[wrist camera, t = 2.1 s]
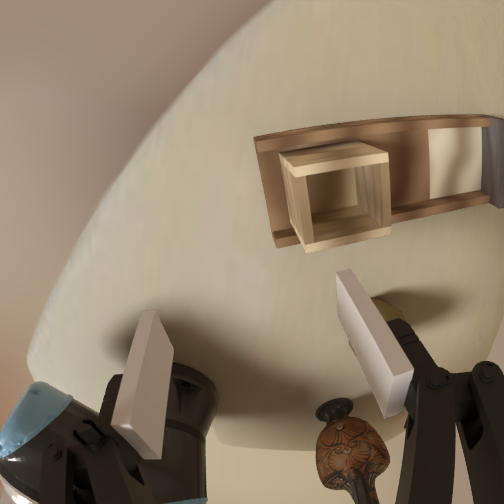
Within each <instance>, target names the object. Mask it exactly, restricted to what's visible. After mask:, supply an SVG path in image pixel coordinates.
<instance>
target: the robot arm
mask: <svg viewBox="0 0 504 504" xmlns="http://www.w3.org/2000/svg"><path fill="white" fill-rule="evenodd" d="M336 285H337V303H338V317H339V319H340V321H341V324H342V326H343V328H344V330H345V332H346V334H347V336H348V338H349V341H350V343H351V345H352V347H353V349H354V351H355V354H356V356H357V358H358V360H359V362H360V365H361V367H362V369H363V371H364V373H365V376H366V378H367V380H368V382H369V385H370V387H371V389H372V392H373V394H374V396H375V398H376V401H377V403H378V405H379V408H380V410H381V412H382V415H383V417H384V419H386V418H389V417H392V416H395V415H398V414H400V413H402V412H403V408H404V405H405V407H406V409H407V411H408V413H409V414H408V417H407V420H406V423H405V426H404V428H406V435H405V445H404V453H403V460H402V467H401V474H400V480H399V486H398V492H397V497H396V503H395V504H451V503H452V494H453V482H454V469H455V437H456V433H455V422H456V426H457V429H458V433H459V437H460V440H461V444H462V449H463V453H464V457H465V461H466V466H467V470H468V475H469V479H470V485H471V490H472V496H473V501H474V504H504V375H503V373H502V371H501V369H500V368H499V366H498V365H496V364H495V363H493V362H490V361H482V362H480V363H477V364H476V365H475V367H474V368H473V370H472V372H464V373H450V372H449V371H448V370H446V369H444V368H441V367H438V366H437V365H436V364H435V362H434V361H433V359H432V357H431V356H430V354H429V353H428V351H427V350H426V348H425V347H424V345H423V344H422V342H421V341H419V338H418V336H417V335H416V334H415V332H414V331H413V329H412V328H411V326H410V325H409V324H408V323H407V322H405V321H404V320H402V319H401V318H397V319H394V320H390V321H387V322H385V320H384V319H383V317H382V316H381V314H380V312H379V311H378V309H377V308H376V306H375V305H374V303H373V301H372V300H371V298H370V297H369V295H368V294H367V292H366V291H365V289H364V288H363V286H362V285H361V283H360V282H359V280H358V279H357V277H356V276H355V274H354V273H353V271H352V270H351V269H347V270H343V271H339V272H336ZM173 354H174V348H173V346H172V344H171V342H170V340H169V338H168V336H167V334H166V331H165V329H164V327H163V325H162V323H161V321H160V318H159V316H158V314H157V312H156V310H151V311H145V312H141V316H140V319H139V322H138V325H137V329H136V332H135V335H134V338H133V342H132V345H131V349H130V352H129V356H128V359H127V363H126V366H125V370H124V374H117V375H114V376H113V377H112V379H111V380H110V381H109V383H108V385H107V388H106V392H105V395H104V399H103V402H102V406H101V409H100V413H98V412H96V411H94V410H92V409H91V408H89V407H87V406H85V405H84V404H82V403H80V402H79V401H77V400H75V399H73V396H71V395H68V394H65V393H63V392H61V391H60V390H58V389H56V388H54V387H53V386H51V385H49V384H47V383H45V382H35V383H33V384H31V385H30V386H29V387H28V389H27V390H26V391H25V393H24V394H23V396H22V397H21V398H20V400H19V402H18V403H17V405H16V406H15V407H14V409H13V411H12V412H11V414H10V415H9V417H8V419H7V420H6V422H5V423H4V425H3V427H2V429H1V430H0V479H1V481H2V483H3V485H4V490H3V493H2V496H1V499H0V504H206V502H207V501H208V499H207V492H206V456H205V454H206V451H205V442H206V435H207V433H208V430H209V428H210V426H211V423H212V421H213V418H214V416H215V413H216V411H217V391H216V388H215V386H214V385H213V383H212V382H211V381H210V380H209V379H208V378H207V377H205V376H204V375H203V374H201V373H199V372H198V371H196V370H194V369H191V368H189V367H186V366H183V365H179V364H175V363H172V361H173Z"/></svg>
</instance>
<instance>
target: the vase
mask: <svg viewBox="0 0 504 504" xmlns="http://www.w3.org/2000/svg"><path fill="white" fill-rule="evenodd" d="M352 408H353V403H352V401H351V400H349V399H335V400H331V401H329V402H327V403H325V404H323V405H322V406H321V407H319V408H318V410H317V411H316V417H317V418H318V420H320V421H323V422H327V425H326V426H325V427H324V429H323V430H322V431H321V433H320V435H319V437H318V439H317V444H316V466H317V471H318V474H319V477H320V480H321V482H322V484H323V485H324V486H325V487H326V488H329V489H333V490H346V491H347V492H349V493H350V495H351V496H352V498H353V500H354V502H355V504H379V500H378V497H377V493H376V489H375V478H376V477H377V476H379V475H380V474H381V473H383V472H384V471H385V470H386V468H387V467H388V465H389V463H390V456H389V453H388V450H387V448H386V446H385V444H384V442H383V440H382V438H381V437H380V435H379V434H378V433H377V432H376V430H375V429H374V428H373V427H372V426H371V425H370V424H369V423H368V422H366V421H364V420H362V419H360V418H357V417H349V416H348V414H349V413H350V412H351V410H352Z"/></svg>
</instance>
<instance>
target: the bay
mask: <svg viewBox="0 0 504 504" xmlns="http://www.w3.org/2000/svg"><path fill="white" fill-rule="evenodd" d="M253 138H254V143H255V148H256V153H257V158H258V163H259V168H260V173H261V178H262V183H263V188H264V193H265V198H266V204H267V209H268V214H269V219H270V225H271V230H272V235H273V239H274V241H275V244H276V247H277V248H282V247H287V246H291V245H296V244H300V243H301V242H300V240H299V238H298V236H297V234H296V232H295V230H294V228H293V226H292V224H291V222H290V216H289V210H288V204H287V198H286V192H285V186H284V180H283V174H282V169H281V163H280V158H279V152H284V151H290V150H296V149H301V148H307V147H313V146H320V145H326V144H333V143H339V142H346V141H354V140H356V141H359V142H362V143H365V144H367V145H370V146H373V147H375V148H378V149H380V150H383V151H385V152H388V158H389V174H390V195H391V224H393V223H397V222H402V221H407V220H411V219H416V218H420V217H425V216H430V215H434V214H439V213H443V212H448V211H453V210H457V209H462V208H466V207H471V206H475V205H480V204H485V203H490V204H492V205H494V206H496V207H497V208H499V209H500V208H504V119H501V118H497V117H492V116H488V115H429V116H410V117H395V118H383V119H372V120H362V121H353V122H345V123H337V124H329V125H322V126H315V127H308V128H302V129H296V130H290V131H284V132H278V133H272V134H267V135H262V136H257V137H253Z"/></svg>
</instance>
